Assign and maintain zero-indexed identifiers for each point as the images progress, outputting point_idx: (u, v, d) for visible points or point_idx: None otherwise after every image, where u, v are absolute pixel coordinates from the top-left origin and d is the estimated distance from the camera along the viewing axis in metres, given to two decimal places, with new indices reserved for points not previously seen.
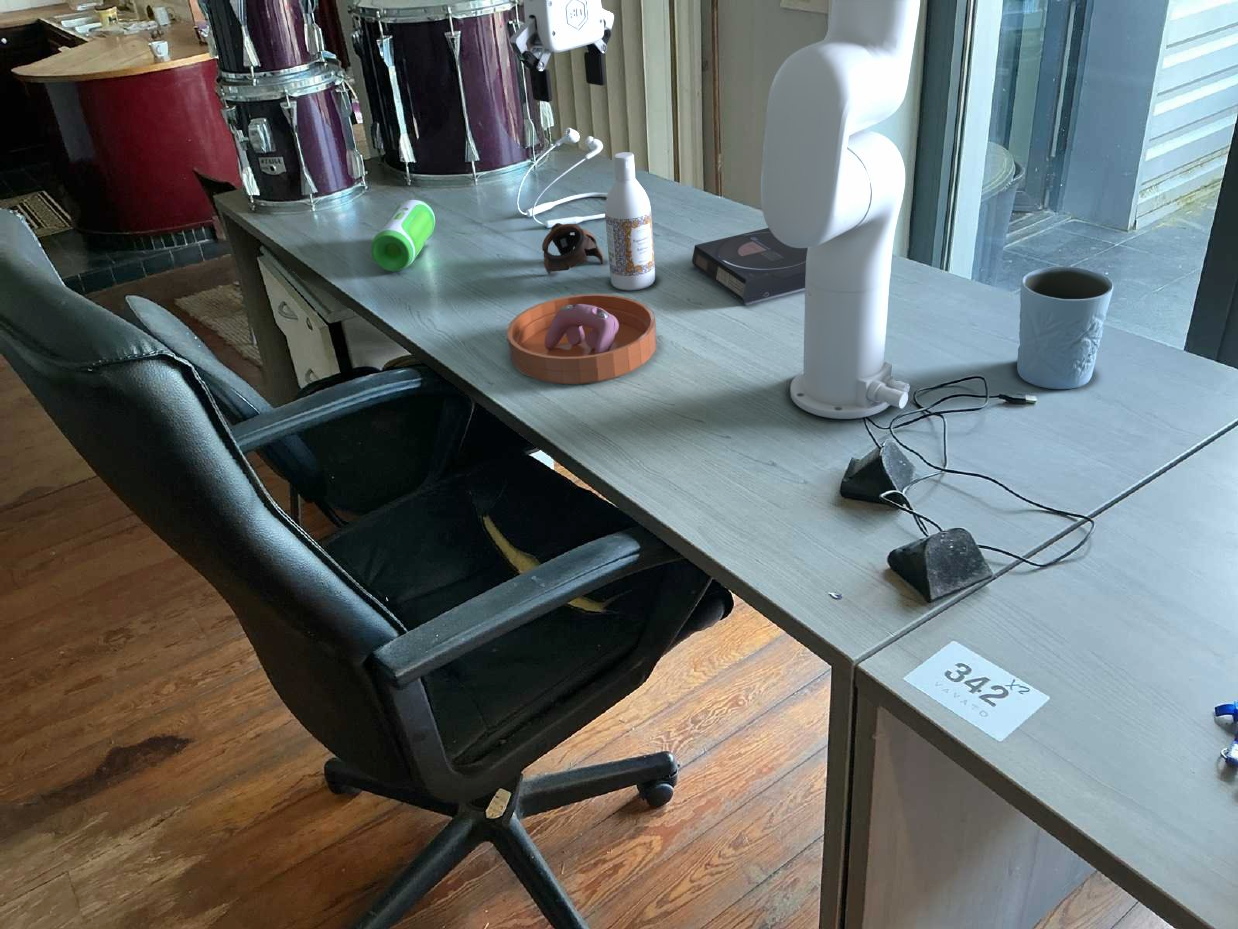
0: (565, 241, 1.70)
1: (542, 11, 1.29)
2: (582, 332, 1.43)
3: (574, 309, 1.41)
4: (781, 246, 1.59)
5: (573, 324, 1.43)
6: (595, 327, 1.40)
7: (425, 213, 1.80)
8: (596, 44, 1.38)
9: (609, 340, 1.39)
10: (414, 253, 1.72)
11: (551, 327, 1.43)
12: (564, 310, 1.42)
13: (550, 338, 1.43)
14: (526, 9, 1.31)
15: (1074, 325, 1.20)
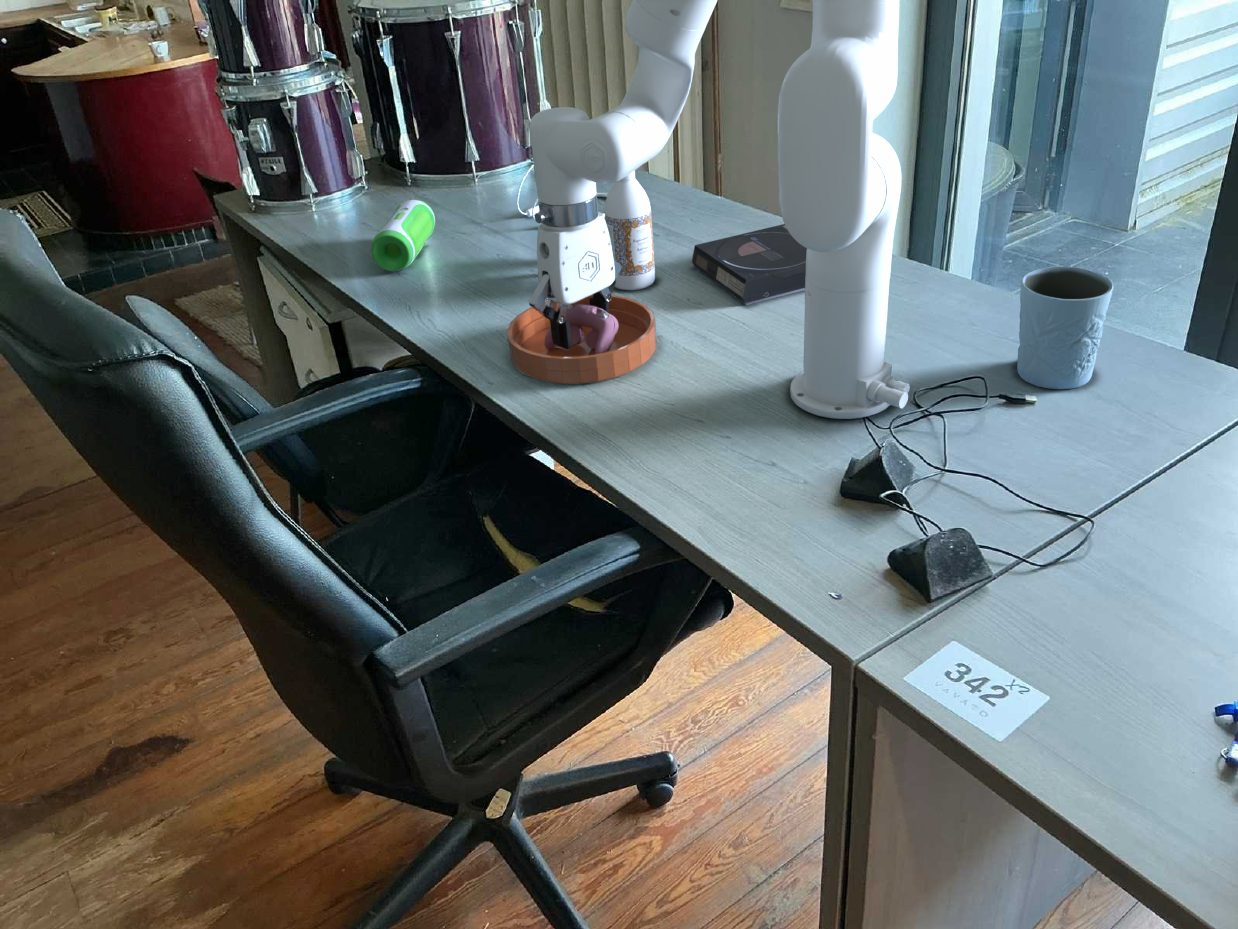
0: None
1: (555, 270, 1.32)
2: (582, 332, 1.43)
3: (574, 309, 1.41)
4: (781, 246, 1.59)
5: (573, 324, 1.43)
6: (595, 327, 1.40)
7: (425, 213, 1.80)
8: (602, 292, 1.40)
9: (609, 340, 1.39)
10: (414, 253, 1.72)
11: None
12: None
13: (550, 338, 1.43)
14: (539, 264, 1.34)
15: (1074, 325, 1.20)
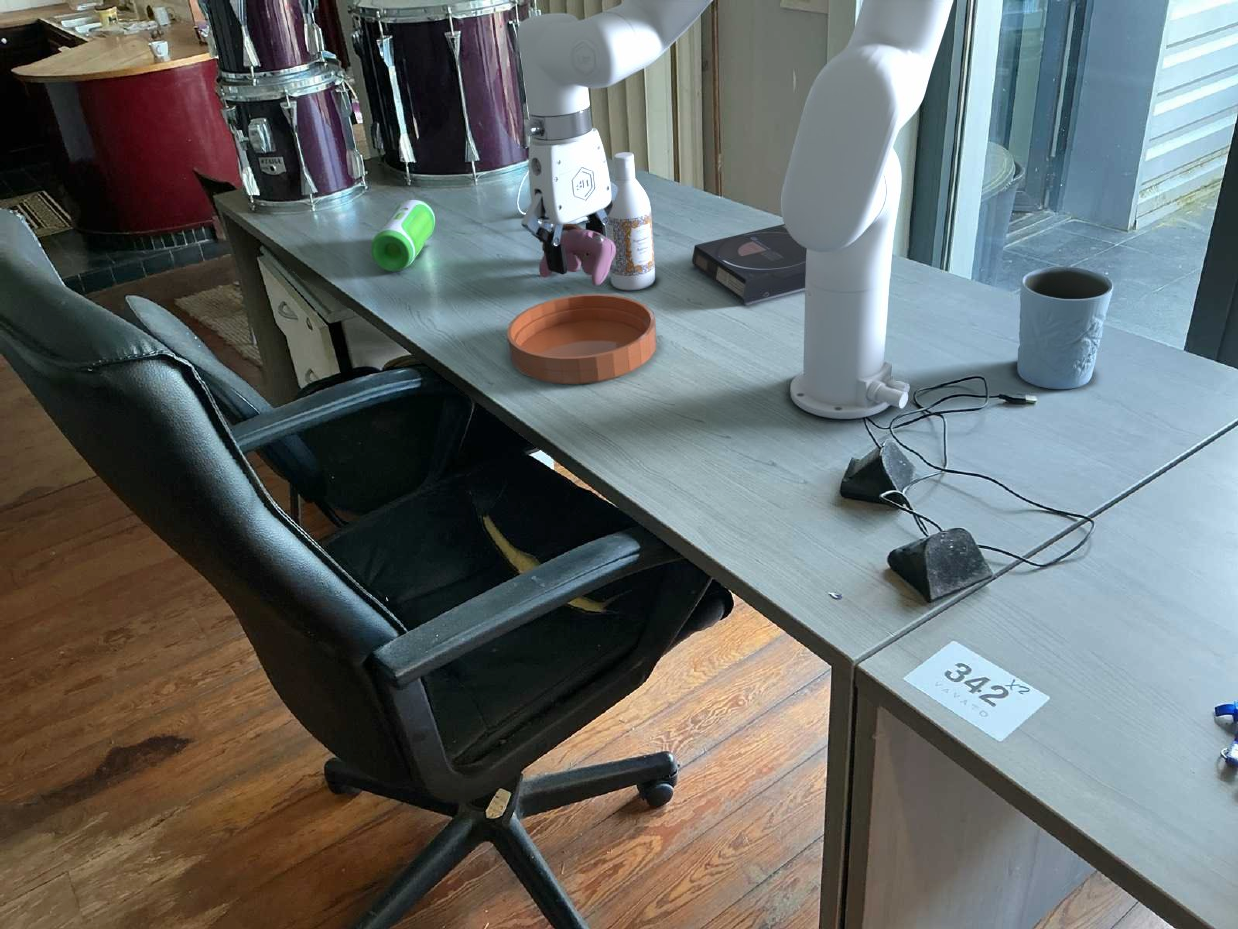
0: None
1: (548, 187, 1.26)
2: (578, 259, 1.37)
3: (569, 234, 1.35)
4: (781, 246, 1.59)
5: (568, 250, 1.37)
6: (591, 251, 1.34)
7: (425, 213, 1.80)
8: (598, 215, 1.34)
9: (606, 264, 1.33)
10: (414, 253, 1.72)
11: None
12: None
13: (545, 265, 1.37)
14: (531, 182, 1.28)
15: (1074, 325, 1.20)
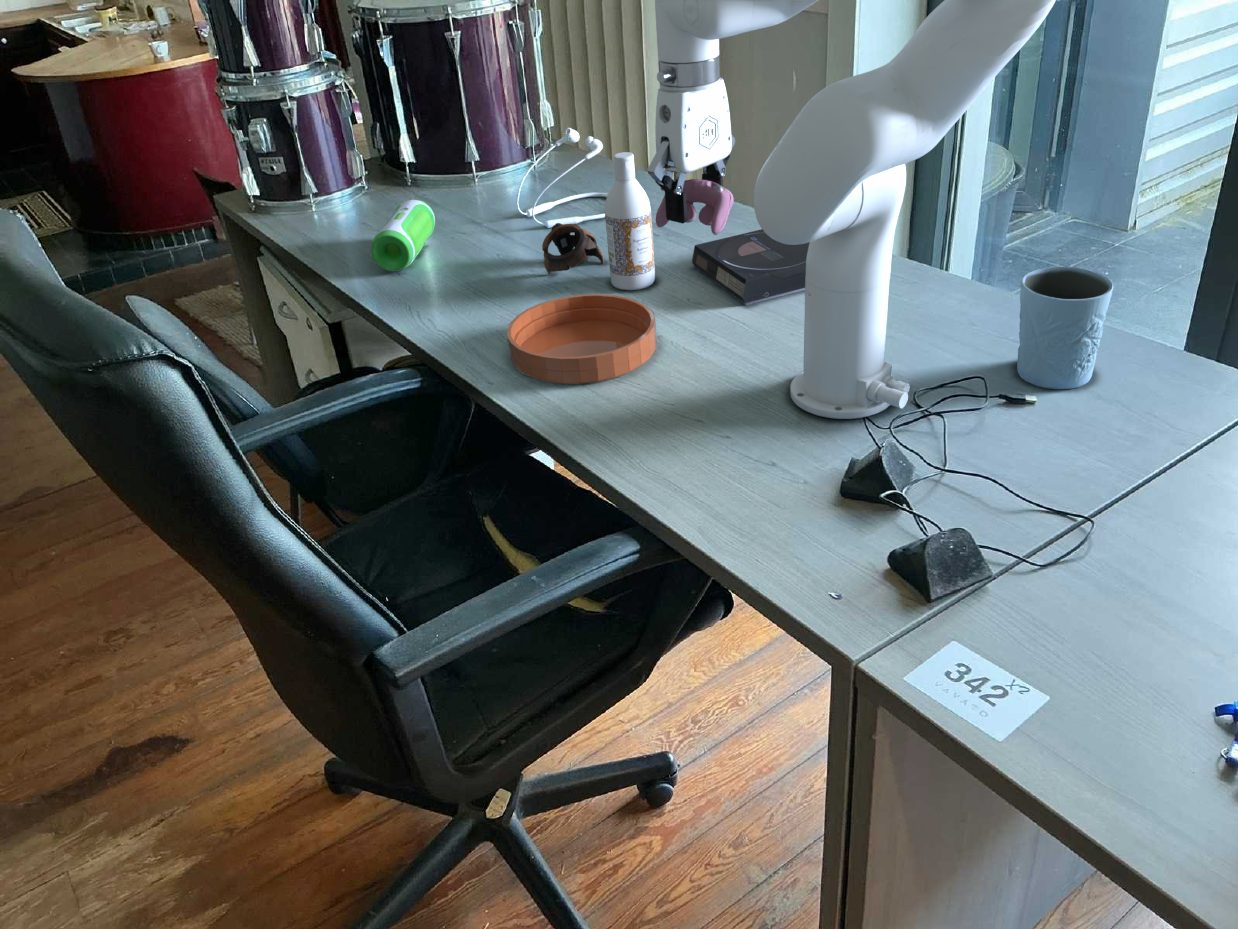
0: (565, 241, 1.70)
1: (676, 134, 1.28)
2: (694, 209, 1.39)
3: (687, 183, 1.37)
4: (781, 246, 1.59)
5: None
6: (710, 201, 1.36)
7: (425, 213, 1.80)
8: (717, 165, 1.36)
9: (725, 213, 1.35)
10: (414, 253, 1.72)
11: (662, 203, 1.38)
12: None
13: (662, 215, 1.38)
14: (657, 130, 1.30)
15: (1074, 325, 1.20)
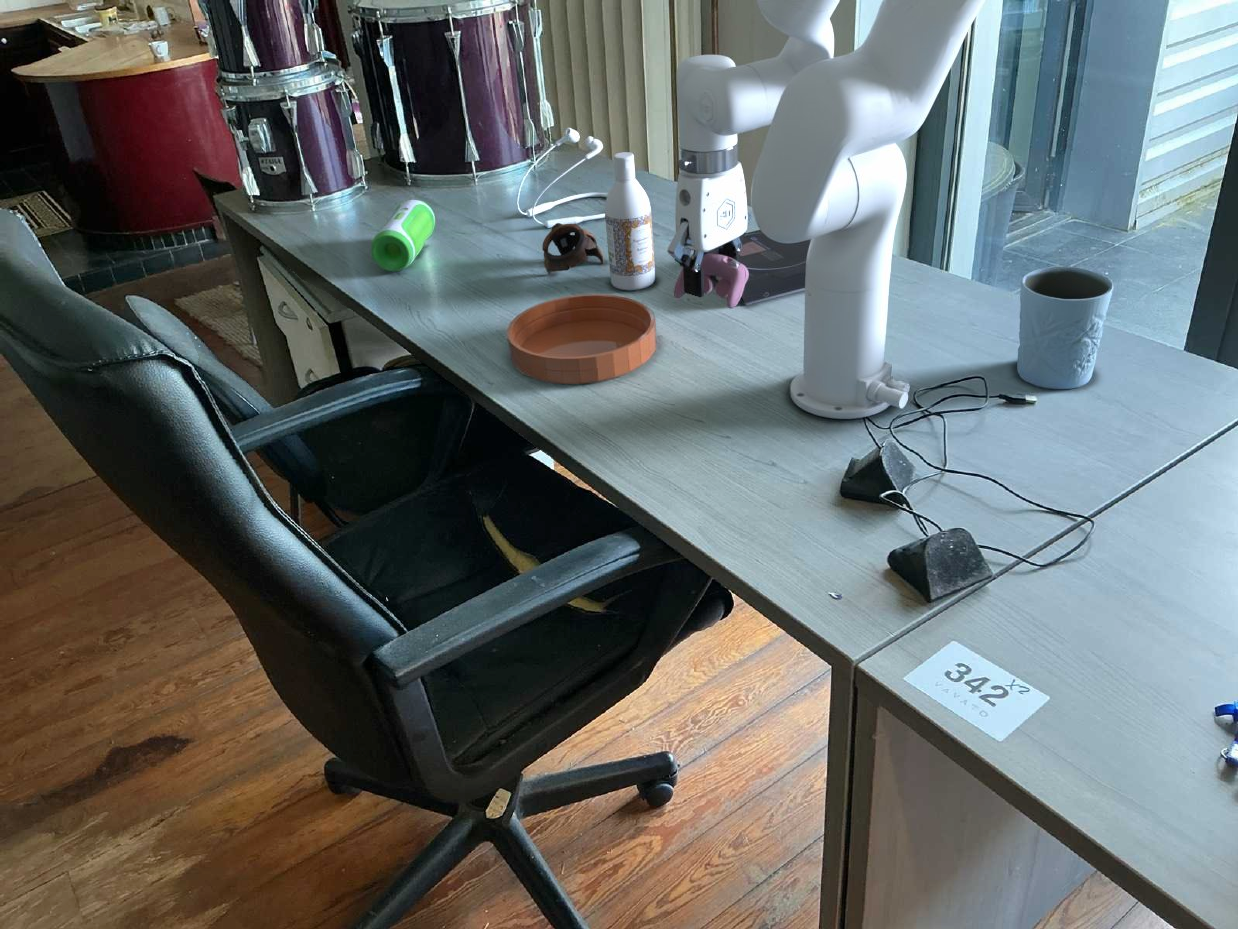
0: (565, 241, 1.70)
1: (695, 217, 1.34)
2: (710, 281, 1.46)
3: (704, 258, 1.43)
4: (781, 246, 1.59)
5: None
6: (726, 276, 1.42)
7: (425, 213, 1.80)
8: (734, 241, 1.42)
9: (741, 288, 1.41)
10: (414, 253, 1.72)
11: (680, 276, 1.45)
12: None
13: (680, 287, 1.45)
14: (677, 212, 1.36)
15: (1074, 325, 1.20)
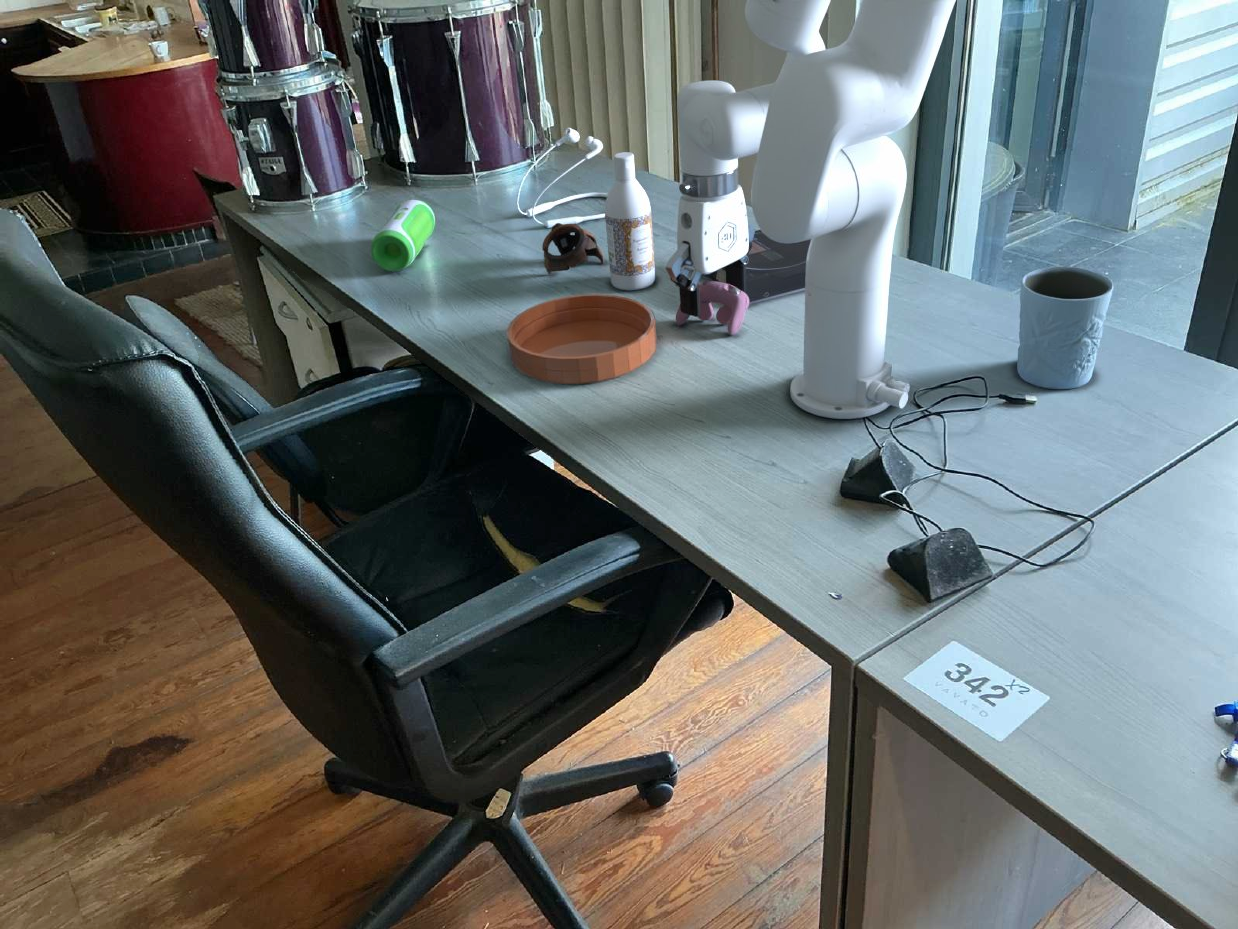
0: (565, 241, 1.70)
1: (697, 240, 1.36)
2: (712, 308, 1.48)
3: (706, 286, 1.46)
4: (781, 246, 1.59)
5: (703, 300, 1.47)
6: (727, 303, 1.44)
7: (425, 213, 1.80)
8: None
9: (741, 316, 1.44)
10: (414, 253, 1.72)
11: None
12: None
13: (681, 314, 1.47)
14: (679, 235, 1.38)
15: (1074, 325, 1.20)
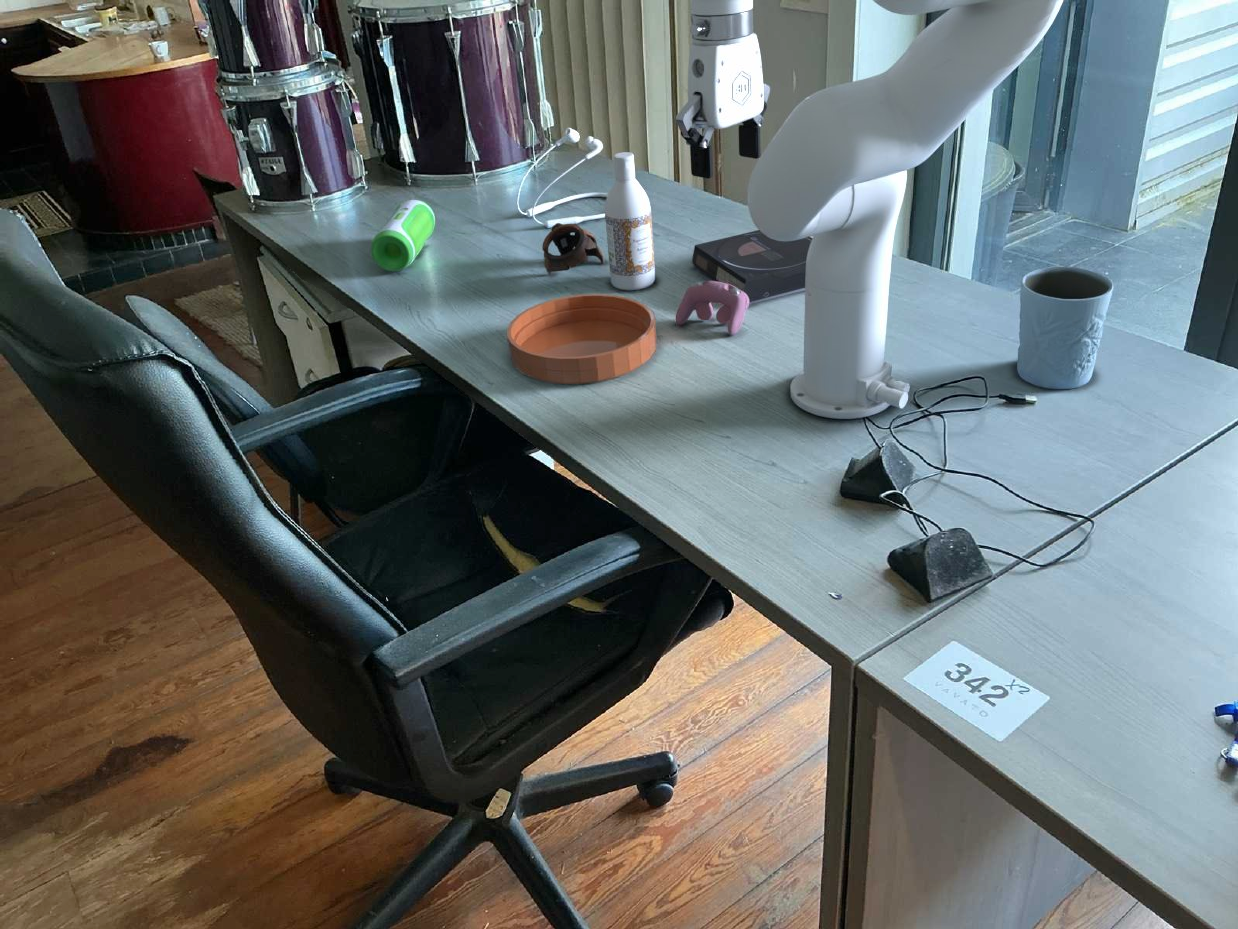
0: (565, 241, 1.70)
1: (710, 88, 1.26)
2: (712, 308, 1.48)
3: (706, 286, 1.46)
4: (781, 246, 1.59)
5: (703, 300, 1.47)
6: (727, 303, 1.44)
7: (425, 213, 1.80)
8: (754, 118, 1.35)
9: (741, 316, 1.44)
10: (414, 253, 1.72)
11: (682, 303, 1.47)
12: (695, 287, 1.47)
13: (681, 314, 1.47)
14: (690, 86, 1.28)
15: (1074, 325, 1.20)
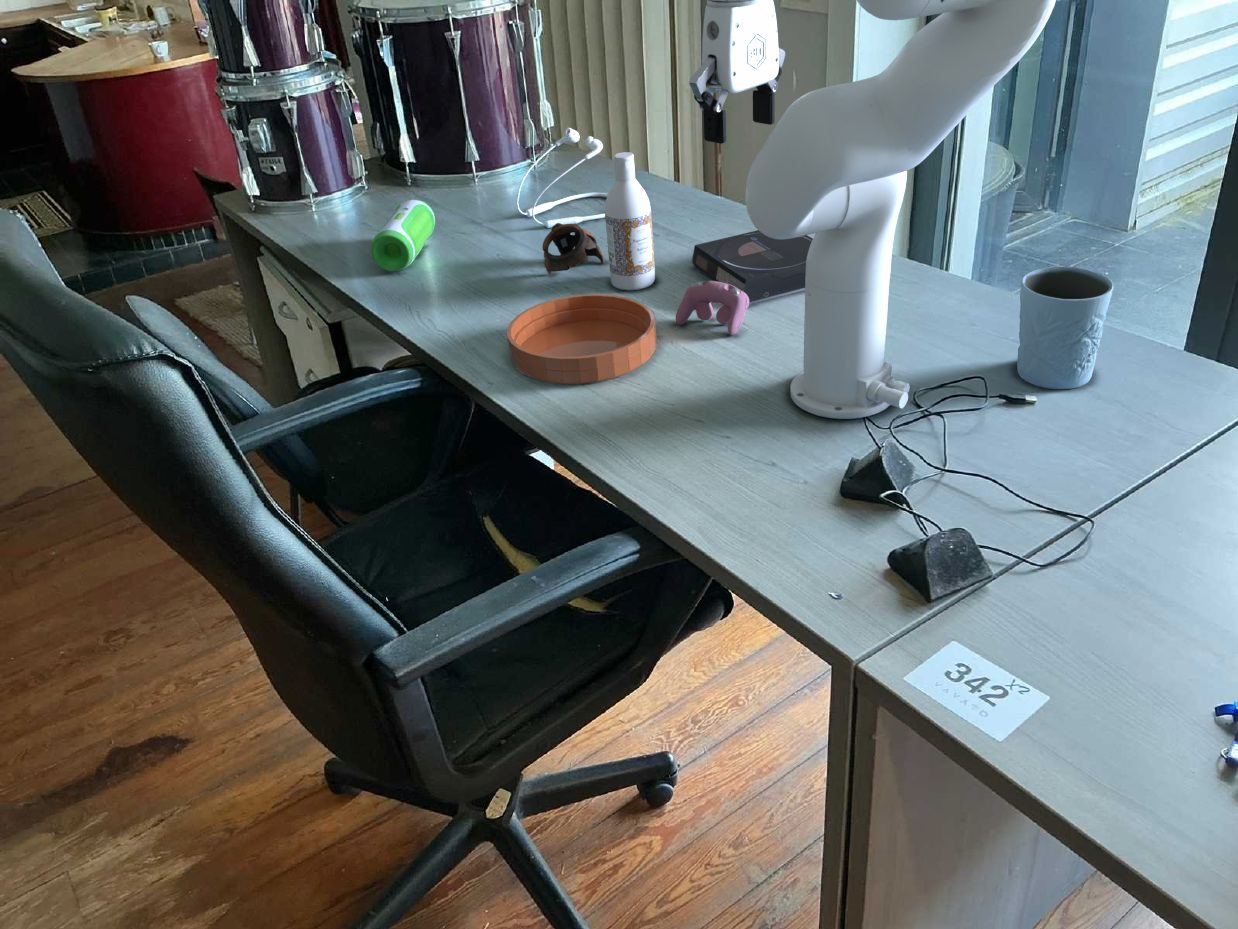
0: (565, 240, 1.70)
1: (724, 51, 1.24)
2: (712, 308, 1.48)
3: (706, 286, 1.46)
4: (781, 246, 1.59)
5: (703, 300, 1.47)
6: (727, 303, 1.44)
7: (425, 213, 1.80)
8: (768, 83, 1.33)
9: (741, 316, 1.44)
10: (414, 253, 1.72)
11: (682, 303, 1.47)
12: (695, 287, 1.47)
13: (681, 314, 1.47)
14: (704, 48, 1.26)
15: (1074, 325, 1.20)
